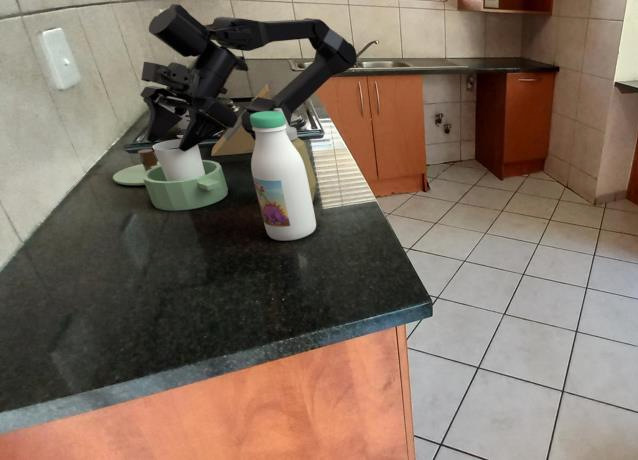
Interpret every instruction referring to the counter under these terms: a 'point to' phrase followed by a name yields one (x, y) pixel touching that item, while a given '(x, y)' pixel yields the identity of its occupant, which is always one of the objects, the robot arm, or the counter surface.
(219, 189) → the pot
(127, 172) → the lid
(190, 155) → the white cup
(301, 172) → the milk bottle
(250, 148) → the sandwich container
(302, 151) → the squeeze bottle
